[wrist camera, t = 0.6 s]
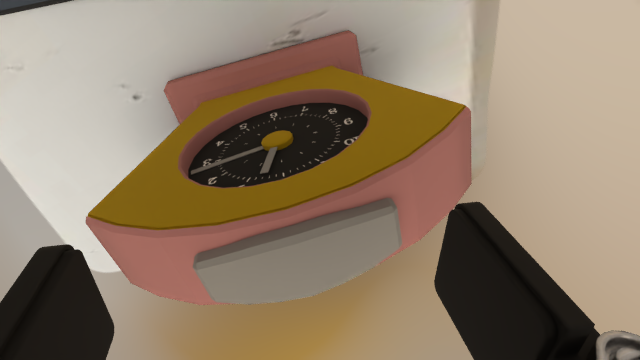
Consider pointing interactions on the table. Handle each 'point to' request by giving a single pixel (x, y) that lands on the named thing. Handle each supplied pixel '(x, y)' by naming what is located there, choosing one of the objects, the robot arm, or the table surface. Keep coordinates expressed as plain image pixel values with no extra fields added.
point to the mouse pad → (24, 5)
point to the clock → (285, 179)
